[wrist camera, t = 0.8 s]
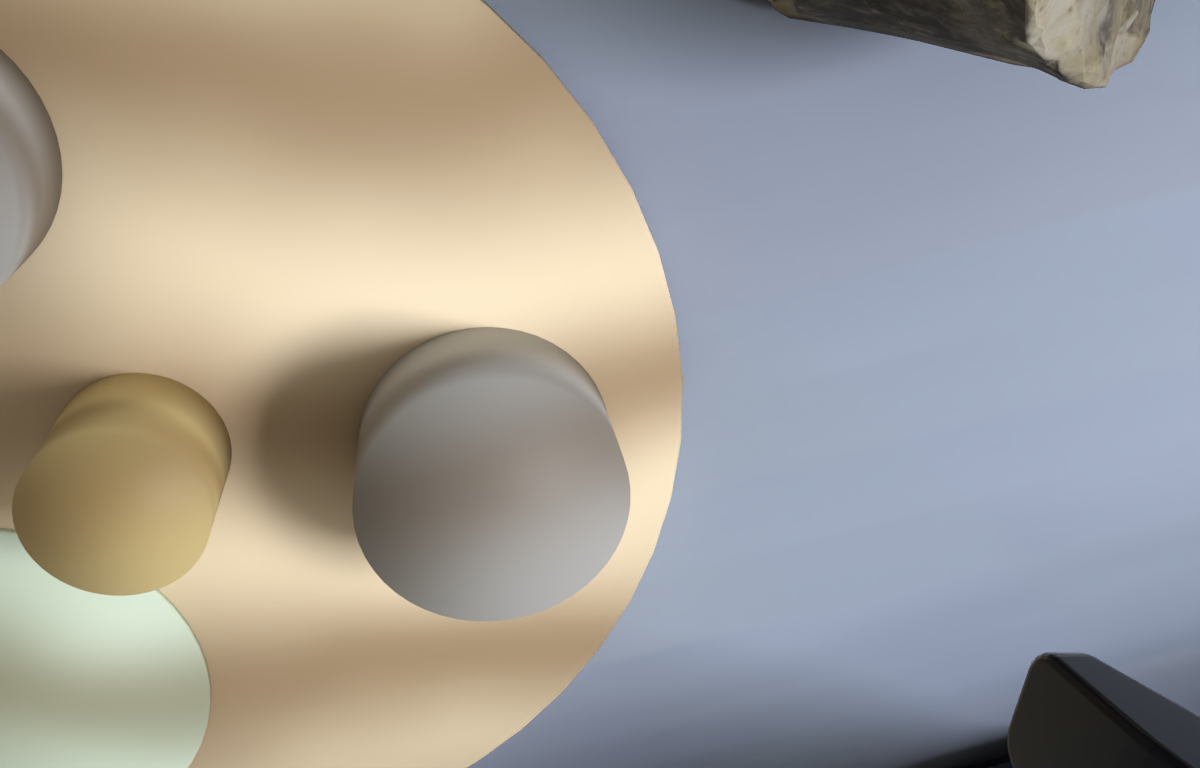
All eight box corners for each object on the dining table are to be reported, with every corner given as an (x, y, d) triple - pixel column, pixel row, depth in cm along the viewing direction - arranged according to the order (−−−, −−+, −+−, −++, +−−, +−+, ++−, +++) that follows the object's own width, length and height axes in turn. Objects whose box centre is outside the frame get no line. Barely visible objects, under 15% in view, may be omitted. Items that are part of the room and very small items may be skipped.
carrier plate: (741, 693, 27) (781, 794, 24) (-121, 923, 26) (-189, 1058, 23) (553, -292, 18) (581, -323, 15) (-792, 7, 17) (-1045, 38, 14)
